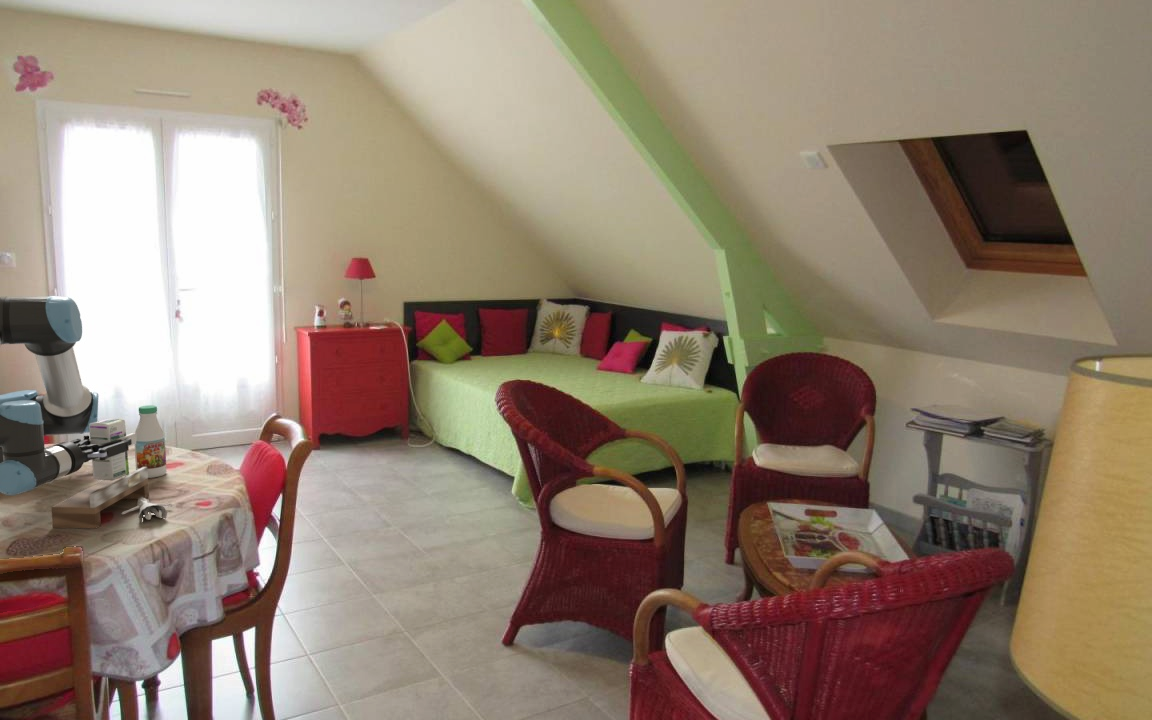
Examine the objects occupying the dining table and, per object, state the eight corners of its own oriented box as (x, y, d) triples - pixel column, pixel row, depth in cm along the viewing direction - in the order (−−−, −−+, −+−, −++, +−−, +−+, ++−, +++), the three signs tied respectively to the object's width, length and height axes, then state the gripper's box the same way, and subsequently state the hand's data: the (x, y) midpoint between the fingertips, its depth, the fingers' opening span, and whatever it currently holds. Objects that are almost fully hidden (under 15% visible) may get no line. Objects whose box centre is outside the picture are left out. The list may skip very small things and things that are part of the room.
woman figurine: (126, 511, 186) (115, 496, 201) (128, 530, 187) (116, 514, 201) (181, 503, 193) (166, 488, 208) (182, 521, 194) (167, 505, 208)
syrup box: (112, 481, 199) (109, 424, 197) (92, 479, 201) (88, 422, 199) (129, 474, 205) (126, 419, 203) (109, 473, 206) (106, 417, 204)
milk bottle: (130, 476, 228) (125, 407, 225) (153, 469, 235) (149, 402, 232) (149, 480, 225) (145, 410, 222) (172, 473, 232) (169, 405, 229)
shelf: (110, 495, 211) (108, 466, 210) (150, 496, 211) (148, 466, 210) (52, 527, 187) (50, 494, 186) (97, 528, 187) (95, 495, 186)
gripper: (19, 475, 185) (87, 450, 208) (98, 478, 184) (158, 453, 206) (17, 443, 184) (85, 422, 207) (96, 446, 183) (156, 424, 205)
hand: (121, 437), depth 207 cm, fingers closed on syrup box, 6 cm apart
